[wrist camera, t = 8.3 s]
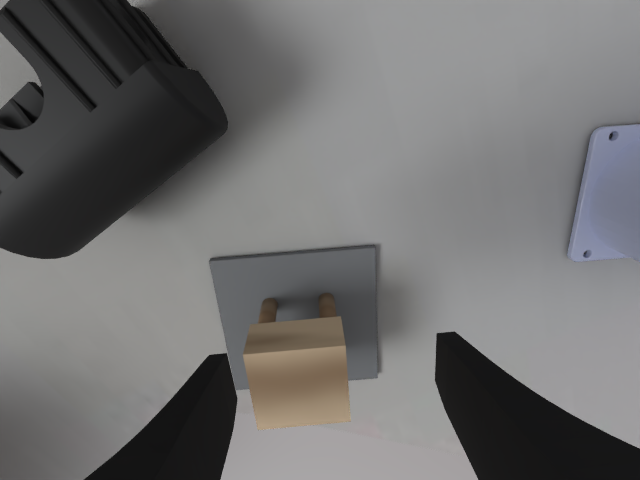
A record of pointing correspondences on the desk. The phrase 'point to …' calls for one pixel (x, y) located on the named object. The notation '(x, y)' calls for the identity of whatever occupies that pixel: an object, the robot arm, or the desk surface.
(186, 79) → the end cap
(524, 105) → the desk surface
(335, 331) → the stool
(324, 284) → the mat
